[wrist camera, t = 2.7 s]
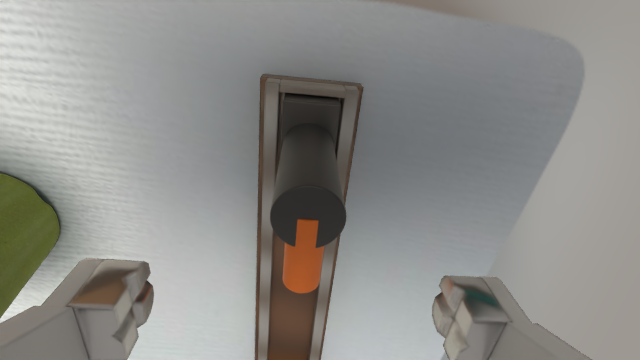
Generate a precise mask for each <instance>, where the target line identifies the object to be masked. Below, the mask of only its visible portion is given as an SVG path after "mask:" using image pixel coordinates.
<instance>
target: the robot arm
mask: <svg viewBox="0 0 640 360" xmlns="http://www.w3.org/2000/svg"><path fill="white" fill-rule="evenodd" d="M149 275H150V268H149V264H148V263H147V262H144V261H130V260H115V259H95V258H86V259H83V260H81V261H80V262H79V263H78V264H77V265H76V267H75V268H74V269H73V270H72V271H71V272H70V273H69V274H68V276H67V277H66V278H65V279H64V280H63V281H62V282H61V284H60V285H59V286H58V287H57V288H56V289H55V290H54V292H53V293H52V294H51V295H50V296H49V297H48V298H47V299H46V301H45V302H44V303H43V304H42V305H41V306H33V307H31V308H29V309H27V310H25V311H23V312H21V313H19V314H17V315H16V316H14V317H12V318H10V319H8V320H6V321H4V322H2V323H0V360H127V359H128V357H129V355H130V353H131V351H132V349H133V347H134V345H135V343H136V341H137V339H138V337H139V336H138V331H137V328H138V327H140V326H141V325H143V324H144V323H145V322H146V321H147V319H148V317H149V315H150V312H151V309H152V305H153V298H154V291H153V286H152V285H151V284H150V283H149V282H148V281H147V279H148V277H149ZM439 287H440V289H441V291H442V292H441V293H440V294H439V295H437V296H436V297H435V299H434V303H433V306H432V316H433V321H434V325H435V327H436V330H437V332H439V333H440V334H441V335H442V336H443V337H444V338H445V341H444V344H443V347H444V349H445V352H446V354H447V356H448V358H449V360H592V359H590V358H589V357H587V356H586V355H584V354H582V353H581V352H580V351H578V350H576V349H575V348H573V347H572V346H570V345H569V344H568V343H566V342H565V341H563V340H561V339H560V338H558V337H557V336H555V335H554V334H552V333H551V332H550V331H548V330H547V329H545V328H544V327H542V326H541V325H539V324H536V323H535V324H534V323H532V322H531V321H530V320H529V318H528V317H527V316H526V314H525V313H524V312H523V310H522V309H521V307H520V306H519V305H518V303H517V302H516V300H515V299H514V298H513V296H512V295H511V293H510V292H509V291H508V289H507V288H506V287H505V285H504V284H503V282H502V281H501V280H500V279H498V278H497V277H471V276H444V277H443V278H442V279H441V282H440V285H439Z"/></svg>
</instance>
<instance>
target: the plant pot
mask: <svg viewBox="0 0 640 360" xmlns="http://www.w3.org/2000/svg"><path fill="white" fill-rule="evenodd" d="M59 233H60V228H59V222H58V218H57V216H56V213H55V212H54V210H53V208H52V207H51V206H50V205H48V204H47V203H45V202H44V201H43V200H42V199H41V198H40V197H39V196H38V195H37V194H36V192H35V190H34V189H33V188H32V187H30V186H29V185H27V184H26V183H24V182H22V181H20V180H18V179H16V178H13V177H11V176H8V175H5V174H1V173H0V318H1V316H2V315H3V314H4V312H5V311H6V310H7V309H8V307H9V306H10V305H11V303H12V302H13V300H14V299H15V298H16V296H17V295H18V294H19V292H20V291H21V290H22V288H23V287H24V286H25V284H26V283H27V282H28V280H29V279H30V278H31V276H32V275H33V274H34V272H35V271H36V270H37V268H38V267H39V266H40V264H41V263H42V262H43V260H44V259H45V258H46V256H47V255H48V254H49V252H50V251H51V250H52V248H53V247H54V245H55V244H56V242H57V240H58V237H59Z"/></svg>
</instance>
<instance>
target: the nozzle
mask: <svg viewBox="0 0 640 360" xmlns="http://www.w3.org/2000/svg"><path fill="white" fill-rule="evenodd" d="M340 108H341V105H340V102H339V99H338V98H337V97H326V96H315V95H305V94H294V93H285V95H284V99H283V111H282V131H281V151H280V161H279V166H278V172H277V177H276V183H275V188H274V194H273V199H272V205H271V210H270V223H271V226H272V229H273V230H274V232H275V234H276V235H277V236H278V237H279V238H280V239H281V240H282V241H283V242H285V249H284V265H283V283H284V285H285V286H286V287H287V288H288V289H289V290H291V291H293V292H296V293H308V292H311V291H313V290H314V289H316V288H317V286H318V285H319V282H320V275H321V268H322V260H323V253H324V246H325V245H327V244H329V243H331V242H332V241H334V240H335V239H336V238H337V237H338V236H339V235H340V233H341V232H342V230H343V228H344V226H345V223H346V210H345V204H344V199H343V193H342V188H341V182H340V177H339V171H338V166H337V160H336V155H335V147H336V139H337V131H338V123H339V116H340Z"/></svg>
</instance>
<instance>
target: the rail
mask: <svg viewBox="0 0 640 360" xmlns="http://www.w3.org/2000/svg"><path fill="white" fill-rule="evenodd" d="M362 92H363V86H362V85H361V84H360V83H350V82H340V81H330V80H319V79H309V78H299V77H288V76H278V75H268V74H263V75H262V76H261V78H260V126H259V178H258V230H257V282H256V333H255V360H321V355H322V348H323V342H324V335H325V329H326V323H327V316H328V310H329V303H330V297H331V291H332V284H333V278H334V271H335V265H336V259H337V252H338V246H339V239H340V235H339V236H338V237H337V238H336V239H335V240H334V241H332V242H331V243H329V244H327V245H325V246H324V253H323V260H322V268H321V275H320V282H319V285H318V286H317V288H316V289H314V290H313V291H311V292H308V293H296V292H293V291H291V290H289V289H288V288H287V287H286V286H285V285H284V283H283V265H284V249H285V242H283V241H282V240H281V239H280V238H279V237H278V236H277V235H276V234H275V232H274V230H273V229H272V226H271V223H270V210H271V205H272V199H273V194H274V188H275V183H276V177H277V172H278V166H279V161H280V151H281V131H282V111H283V99H284V95H285V93H294V94H305V95H315V96H326V97H337V98H338V99H339V102H340V105H341V108H340V116H339V123H338V131H337V139H336V147H335V155H336V160H337V166H338V171H339V177H340V182H341V188H342V193H343V199H344V204H345V201H346V195H347V188H348V182H349V176H350V169H351V163H352V156H353V150H354V144H355V137H356V131H357V124H358V118H359V112H360V105H361V99H362Z"/></svg>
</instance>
